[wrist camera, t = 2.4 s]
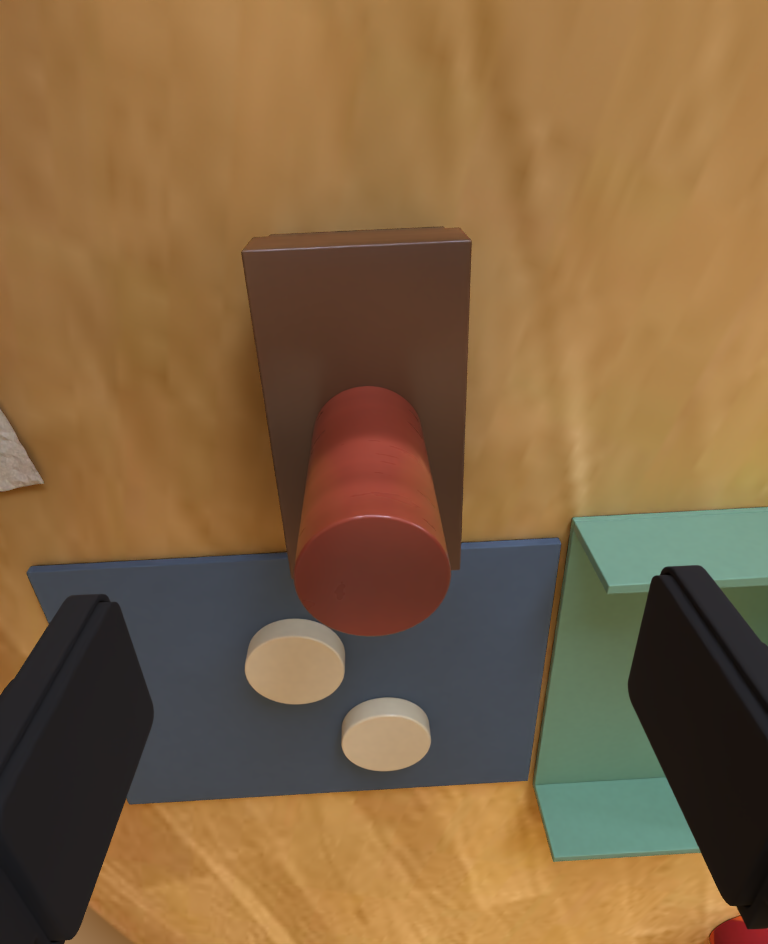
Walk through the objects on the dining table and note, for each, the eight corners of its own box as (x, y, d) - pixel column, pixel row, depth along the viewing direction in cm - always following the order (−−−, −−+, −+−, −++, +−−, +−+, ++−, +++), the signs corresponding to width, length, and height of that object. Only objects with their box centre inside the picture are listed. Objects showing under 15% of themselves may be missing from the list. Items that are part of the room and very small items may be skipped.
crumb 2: (338, 698, 27) (338, 718, 26) (428, 693, 27) (431, 713, 26) (345, 754, 29) (344, 774, 28) (428, 750, 29) (431, 769, 28)
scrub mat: (30, 565, 23) (25, 572, 22) (558, 537, 23) (561, 543, 23) (131, 797, 30) (128, 804, 30) (526, 773, 31) (528, 781, 30)
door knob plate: (260, 226, 17) (171, 329, 9) (452, 217, 17) (538, 312, 9) (299, 518, 22) (266, 752, 14) (446, 510, 22) (498, 738, 14)
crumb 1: (241, 620, 24) (236, 639, 23) (341, 614, 24) (340, 633, 23) (255, 688, 26) (252, 707, 25) (348, 682, 26) (348, 702, 25)
